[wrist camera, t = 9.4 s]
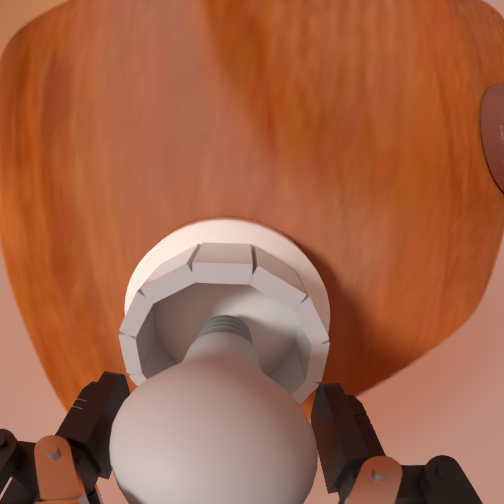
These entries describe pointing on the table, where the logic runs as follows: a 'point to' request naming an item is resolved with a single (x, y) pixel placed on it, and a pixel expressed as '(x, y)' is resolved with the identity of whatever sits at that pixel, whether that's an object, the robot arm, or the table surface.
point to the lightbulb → (213, 430)
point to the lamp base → (228, 301)
